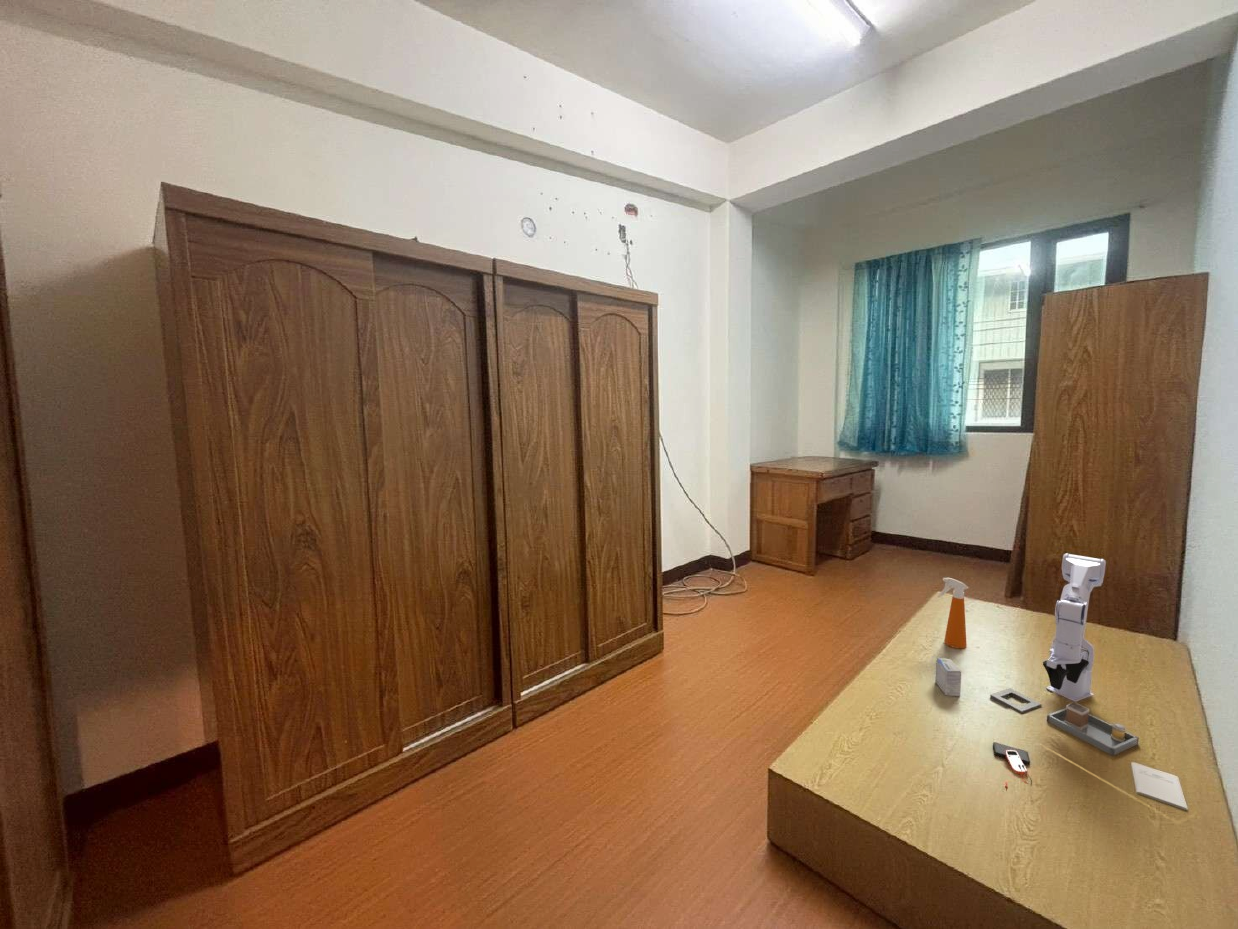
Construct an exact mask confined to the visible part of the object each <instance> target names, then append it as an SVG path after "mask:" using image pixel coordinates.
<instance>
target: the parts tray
mask: <svg viewBox="0 0 1238 929" xmlns="http://www.w3.org/2000/svg"><path fill="white" fill-rule="evenodd" d="M1066 711H1067V708H1066V707H1064V708H1062V709H1059V710H1056V711H1054V712H1052V713H1049V714H1047V716H1046V722H1047V723H1050V724H1052V725H1053V726H1055V727H1057V728H1059V729H1061V730H1063V731H1064V732H1066V733H1068V734H1070V735H1072V736H1074V737H1076V738H1078V739H1079V740H1081V741H1084V742H1085V743H1088V744H1089V745H1091V746H1093V747H1095V748H1097V749H1099V750H1101V751H1102V752H1104V753H1107V754H1108V755H1111V756H1112V757H1113V756H1116V755H1118V754H1121V753H1122V752H1124V751H1127V750H1129V749H1132V748H1133V747H1136V746H1138V745H1139V737H1138V736H1136V735H1134V734H1132V733H1129V732H1128V731H1125V736H1124V739H1125V740H1124V742H1122V743H1119V742H1116V741H1114V740H1113V739H1111V734H1112V724H1111V723H1109V722H1107V721H1105V720H1102V719H1101V718H1098V717H1097V716H1095V715H1092V714H1090V713H1088V722H1087V724H1088V727H1086V728H1085V729H1083V730H1081V731H1080V730H1078V729H1076V728H1074V727H1072V726H1070V725H1068V724H1066V723H1065V720H1066Z"/></svg>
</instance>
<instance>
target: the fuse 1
mask: <svg viewBox="0 0 1238 929" xmlns="http://www.w3.org/2000/svg"><path fill="white" fill-rule="evenodd" d="M1065 708H1067V711H1066V720H1065V723H1066V724H1068V725H1070V726H1072V727H1074V728H1076V729H1078V730H1080V731H1081V730H1083V729H1085V728H1086V727H1088V724H1087V722H1088V714H1090V711H1091V710H1090V708H1088V707H1086V706H1083V705H1082V704H1080V703H1077V702H1075V701H1073V702H1071V703H1068V704H1067V705H1066V707H1065Z"/></svg>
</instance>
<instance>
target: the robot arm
mask: <svg viewBox="0 0 1238 929" xmlns="http://www.w3.org/2000/svg"><path fill="white" fill-rule="evenodd" d="M1061 562H1062V563H1061V571H1062V578H1063V579H1064V581H1067V582H1068V583H1067V584H1064V586H1063V588H1062V592H1061V595H1060V599H1059V600H1058V599H1057V601H1056V604H1055V610H1054V616H1055V617H1054V618H1055V621H1054V622H1055V634H1054V635H1055V637H1053V638H1052V643H1051V646H1050V649H1048V652H1049V653H1050V654H1049V658H1047V659H1046V660H1044V661H1043V662H1042V666H1043V668H1044V669H1045V672H1046V673H1047V675H1048V680H1049V684H1050V685H1049V686H1047V687H1045V688H1046V690H1048V691H1049V692H1052V693H1056V694H1058V695H1060V696H1062V697H1064V698H1066V699H1068V700H1070V701H1073V702H1075V703H1077V702H1079V701H1080V700H1084V699H1086V698H1089V697H1091V696H1094V695H1095V694H1094V693H1092V692H1091V687H1092V678H1093V675H1092V673H1091V671H1093V667H1094V661H1095V648H1094V646H1093V644H1091V642H1089V641H1088V640H1087V639H1085V633H1086V632H1085V630H1086V624H1087V618H1088V611H1089V610H1088V609H1089V603H1090V597H1091V593H1092V591H1093V589H1094V588H1096V587H1102V584H1103V582H1104V577H1105V572H1106V564H1107V562H1106V560H1105V558H1096V557H1090V556H1085V555H1084V556H1083V555H1077V554H1071V553H1068V552H1067V553H1064V554H1063V556H1062V561H1061Z"/></svg>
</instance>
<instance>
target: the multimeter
mask: <svg viewBox="0 0 1238 929" xmlns="http://www.w3.org/2000/svg"><path fill="white" fill-rule="evenodd" d="M992 748H993V754H994V755H993V756H995V757H996V758H1001V759H1004V760H1007V762H1008V764H1009V767H1010V768H1011V770H1012V772H1013V773H1014V774H1017V775H1021V780H1022V781H1023V782H1024V783H1026V784H1028V785H1029V782H1026V780H1024V779H1023V775H1024V776H1025V775H1027V777H1029V779H1030V781H1031V782H1030V786H1032V785H1033V784H1032V783H1033V781H1032V779H1031V777H1030V774H1028V769H1027V768H1026V766H1028V767H1029V766H1030V765H1031V760H1030V755H1029V752H1028V751H1027V750H1024V749H1021V748H1018V747H1014V746H1013V747H1012V746H1010V745H1005V744H1002V743H999V742H996V741H993V743H992ZM1004 787H1005V789H1006V791H1007V789H1008V788H1009V787H1008V782H1007V781H1005V786H1004Z"/></svg>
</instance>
